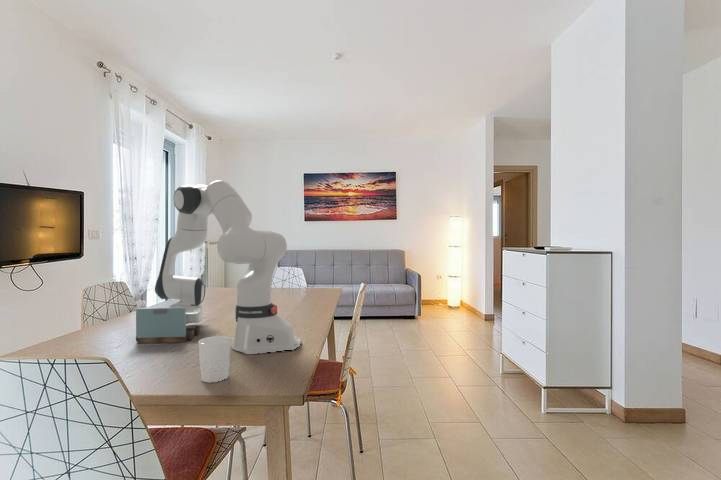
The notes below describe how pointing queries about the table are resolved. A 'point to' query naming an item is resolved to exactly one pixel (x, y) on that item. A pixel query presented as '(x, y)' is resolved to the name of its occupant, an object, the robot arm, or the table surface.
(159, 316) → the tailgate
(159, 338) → the cart bed
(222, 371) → the white cup
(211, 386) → the table surface
